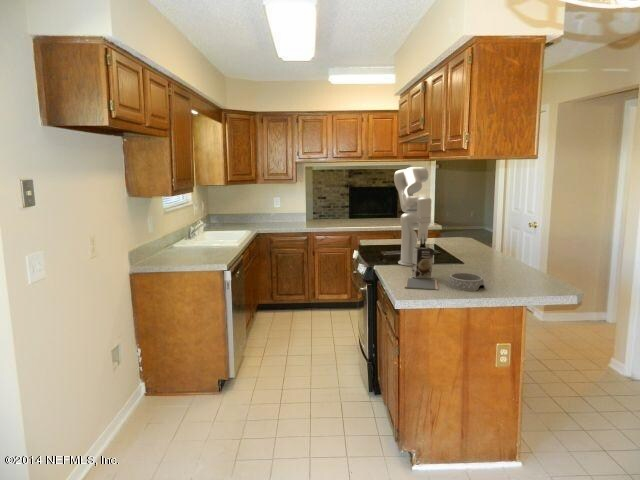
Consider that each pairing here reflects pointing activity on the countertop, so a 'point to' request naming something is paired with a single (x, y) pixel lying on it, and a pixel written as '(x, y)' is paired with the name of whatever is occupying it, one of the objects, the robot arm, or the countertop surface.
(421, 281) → the mat
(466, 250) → the countertop surface
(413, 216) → the robot arm
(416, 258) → the coffee box
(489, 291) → the countertop surface
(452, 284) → the dog bowl
